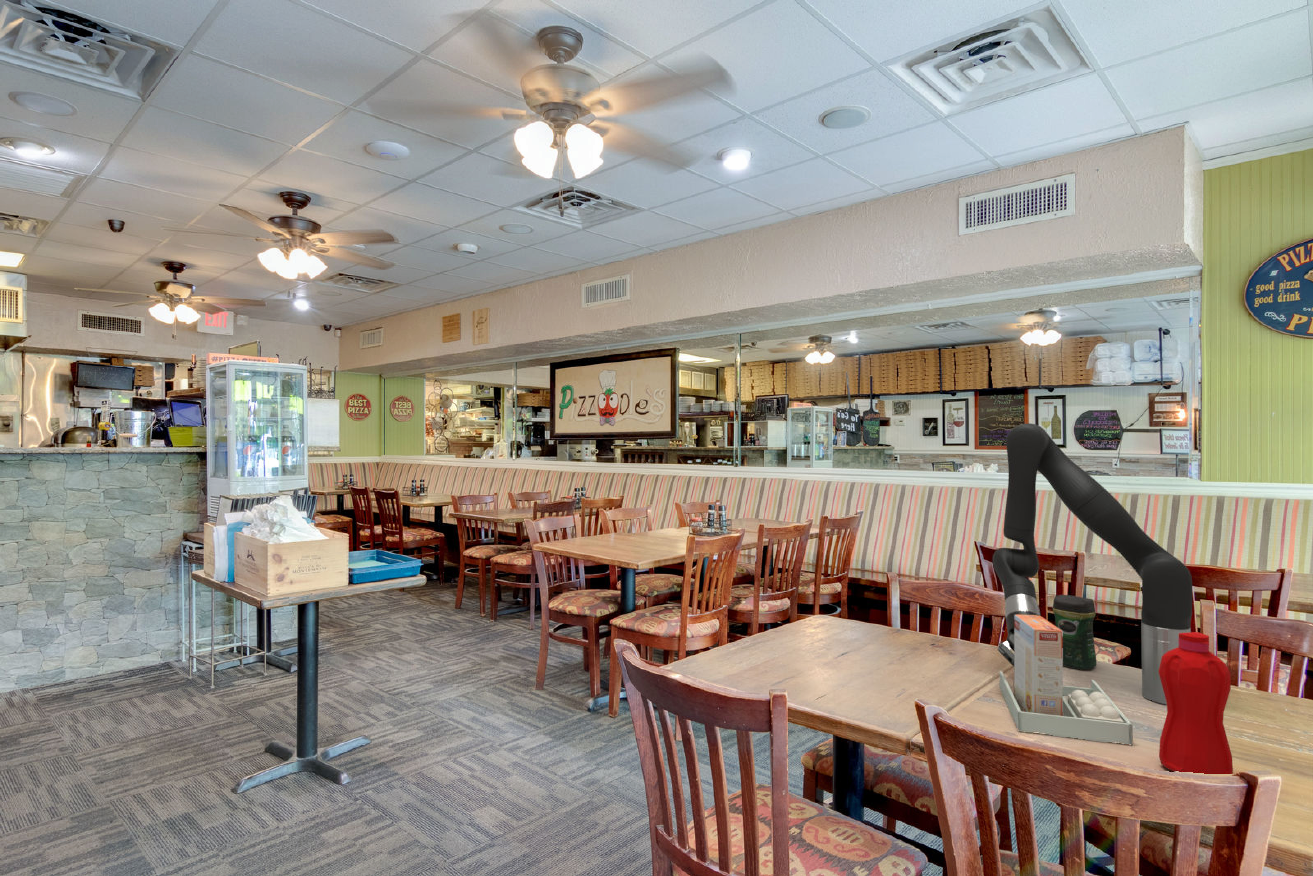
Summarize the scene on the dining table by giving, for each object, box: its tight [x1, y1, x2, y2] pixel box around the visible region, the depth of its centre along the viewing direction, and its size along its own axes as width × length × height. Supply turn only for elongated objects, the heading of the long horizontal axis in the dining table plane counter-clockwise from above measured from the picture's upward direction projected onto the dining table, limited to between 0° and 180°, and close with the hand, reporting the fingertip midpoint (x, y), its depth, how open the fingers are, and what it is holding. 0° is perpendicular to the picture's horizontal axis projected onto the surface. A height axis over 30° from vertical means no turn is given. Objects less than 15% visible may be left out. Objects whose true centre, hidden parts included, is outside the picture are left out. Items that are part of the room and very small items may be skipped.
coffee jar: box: [1052, 594, 1097, 671], centre depth 186 cm, size 10×8×19 cm
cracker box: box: [1013, 615, 1064, 716], centre depth 149 cm, size 14×6×21 cm, turn 167°
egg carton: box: [1067, 690, 1124, 723], centre depth 144 cm, size 7×14×6 cm, turn 160°
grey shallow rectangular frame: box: [998, 670, 1134, 746], centre depth 152 cm, size 20×28×4 cm
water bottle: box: [1158, 631, 1234, 774], centre depth 125 cm, size 9×11×25 cm
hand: (1032, 685), depth 156 cm, fingers closed
